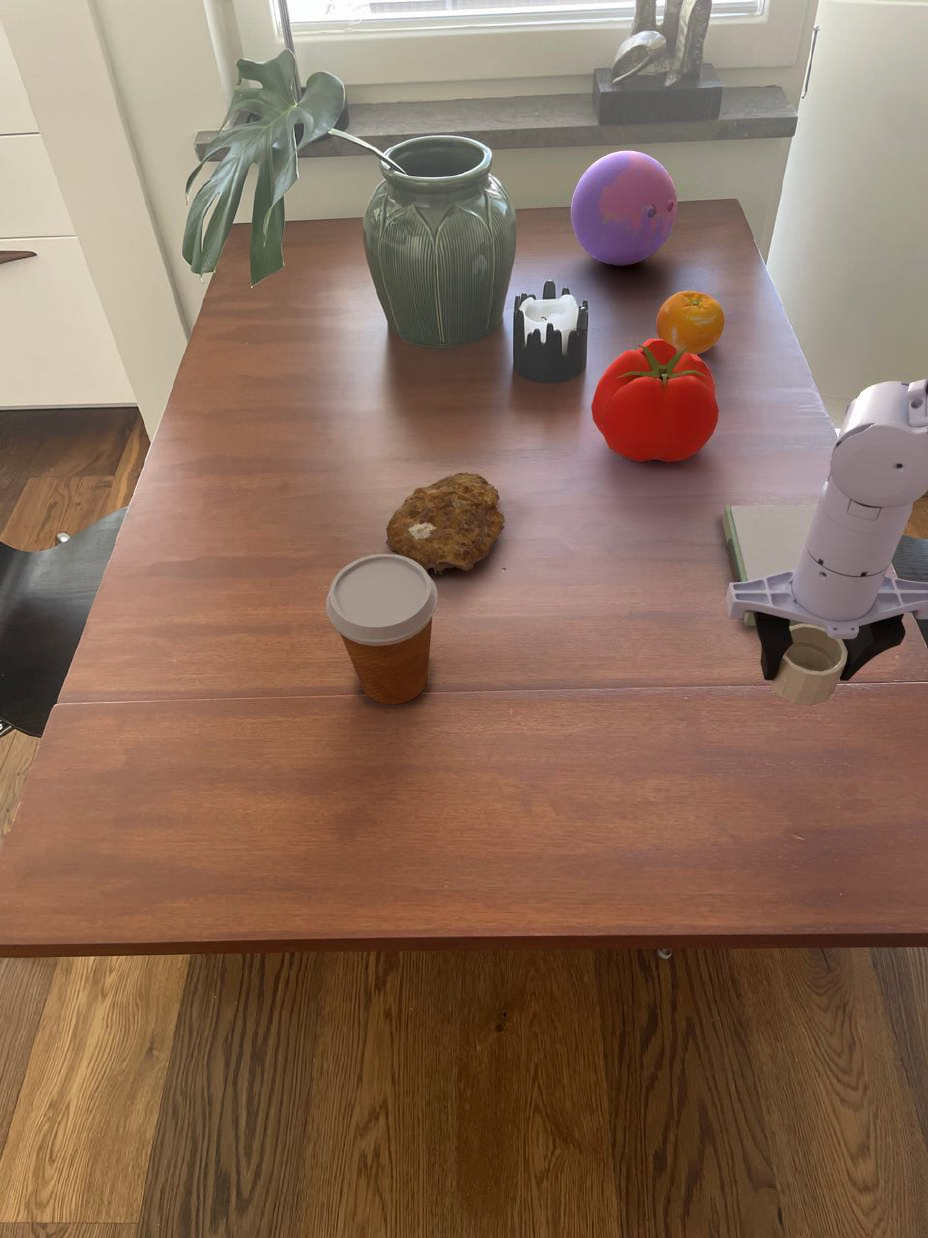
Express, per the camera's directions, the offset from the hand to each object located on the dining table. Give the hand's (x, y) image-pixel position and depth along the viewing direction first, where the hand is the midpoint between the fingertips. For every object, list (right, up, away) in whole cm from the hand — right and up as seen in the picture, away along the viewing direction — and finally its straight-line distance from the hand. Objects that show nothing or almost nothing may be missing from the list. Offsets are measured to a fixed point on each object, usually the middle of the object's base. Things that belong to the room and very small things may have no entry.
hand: (803, 671), depth 74 cm
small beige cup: (0, -1, +1) cm, 2 cm away
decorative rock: (-29, +13, +25) cm, 41 cm away
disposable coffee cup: (-34, -1, +13) cm, 36 cm away
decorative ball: (-4, +58, +64) cm, 86 cm away
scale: (+5, +9, +19) cm, 22 cm away
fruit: (+2, +40, +48) cm, 62 cm away
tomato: (-5, +24, +34) cm, 42 cm away
